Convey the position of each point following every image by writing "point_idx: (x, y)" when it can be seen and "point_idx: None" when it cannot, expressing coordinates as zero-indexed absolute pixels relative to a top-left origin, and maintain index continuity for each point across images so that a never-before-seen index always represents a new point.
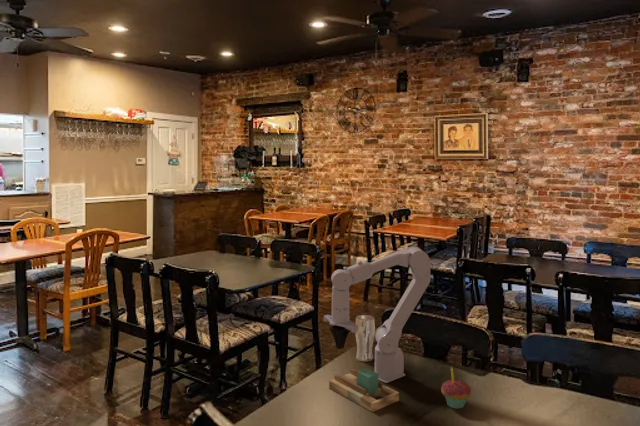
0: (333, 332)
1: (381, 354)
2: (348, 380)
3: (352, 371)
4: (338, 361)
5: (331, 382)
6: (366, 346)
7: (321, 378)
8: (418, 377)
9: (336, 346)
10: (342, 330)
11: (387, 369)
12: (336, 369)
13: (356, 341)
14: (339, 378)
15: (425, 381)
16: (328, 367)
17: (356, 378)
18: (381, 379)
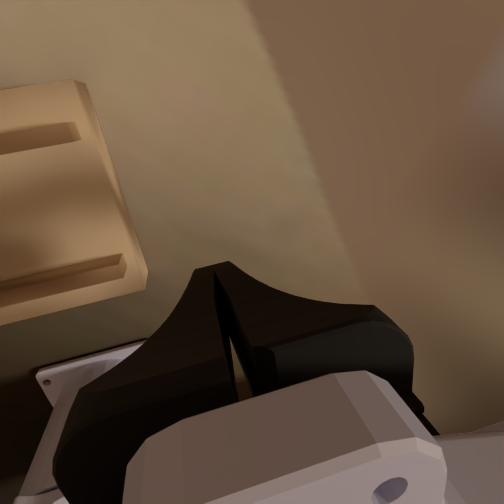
0: (276, 318)
1: (33, 493)
2: (30, 199)
3: (101, 265)
4: (346, 283)
5: (48, 83)
6: None
7: (227, 115)
8: None
9: (227, 264)
10: (71, 489)
11: (45, 430)
12: (282, 239)
13: None
14: (8, 132)
15: (10, 497)
16: (320, 215)
17: (46, 255)
18: (70, 367)
